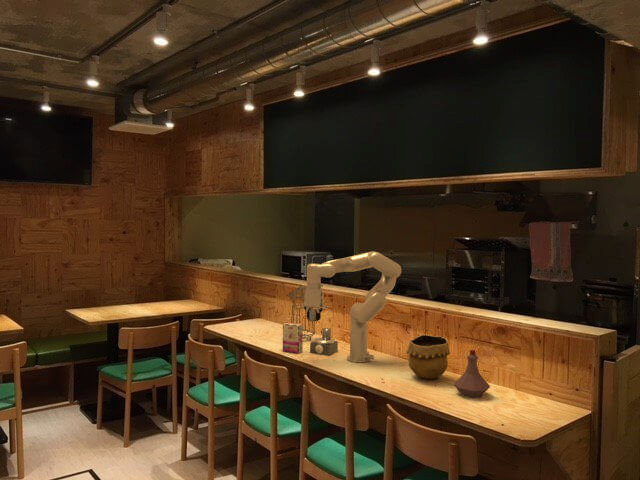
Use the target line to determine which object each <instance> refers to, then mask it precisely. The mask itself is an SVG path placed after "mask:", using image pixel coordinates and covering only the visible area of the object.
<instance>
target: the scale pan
mask: <svg viewBox="0 0 640 480" xmlns="http://www.w3.org/2000/svg"><path fill="white" fill-rule="evenodd" d="M313 341H314V343H317V344H333V343H334V341H335V339H333V338H331V339H330V340H323V339H322V337H317V338H314V339H313Z"/></svg>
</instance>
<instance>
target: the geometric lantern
mask: <svg viewBox="0 0 640 480" xmlns="http://www.w3.org/2000/svg"><path fill="white" fill-rule="evenodd" d="M306 289H307V286H305V285H301V286H299V287H297V288H295V289H294V290H292V291H290V292H288V293H287V295H288V297H289V298H290V300H291V301H292V302H293V303H292V306H291V317H292V318H290V319H291V321H290V323H294V324H301V310H302V309H304V308H303V307H302V306H300V304H296V302H297V299H299V300H300V301H302V303H303V302H304V297H305V291H306ZM298 306H299V308H298ZM294 309H295V310H296V311H298V315H296V318H295V310H294ZM311 309H314V307H311ZM304 314H305V315H304V316H305V317H304V329H303V339H305V338H306V339H307V340H305V342H311V341H312V337H313V336H314V335H315V334H316V329H315V327H316V326H314V325H315V321H311V327H312V330H310V328H308V329H306V328H307V321H308V325H310V321H309V319H307V312H306V310H305V309H304ZM294 318H295V319H296V321H294V320H295V319H294ZM298 318H299V320H298ZM295 322H296V323H295ZM306 331H307V332H306ZM309 332H310V333H312V334H308V333H309Z"/></svg>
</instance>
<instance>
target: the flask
mask: <svg viewBox="0 0 640 480" xmlns="http://www.w3.org/2000/svg"><path fill="white" fill-rule="evenodd" d="M466 358H467V365H466V369H465V371H464V372H463V374H462V375H461V376H460V377H459V378H458V379H457V380H455V381H454V383H453V386H454V387H455V389H456V390H457V391H458V392H459V394H460V395H462V396H463V397H465V398H471V399H476V398H477V399H478V398H479V399H480V398H481V397H482V396H483V395H484V394H485V393H486V392H487V391H488V390H489V389H490V388H491V385H490V384H489V383H488V382H487V381H486V380H485V378H484V377H483V376H482V375H481V374H480V372H479V371H480V370H479V368H478V362H477V361H478V359H479V356H478V355H477V354H476V350H475V349H470V350H469V354H468V355H467V356H466Z"/></svg>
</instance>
